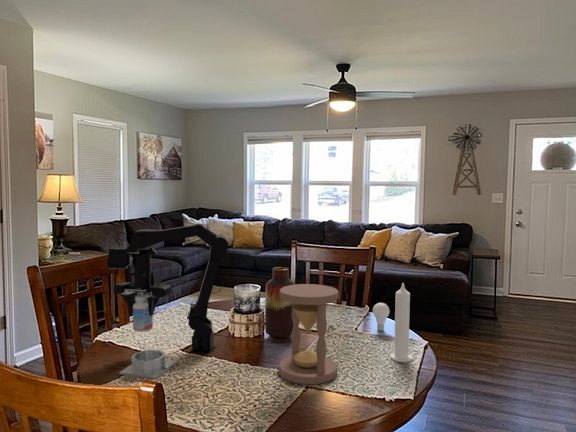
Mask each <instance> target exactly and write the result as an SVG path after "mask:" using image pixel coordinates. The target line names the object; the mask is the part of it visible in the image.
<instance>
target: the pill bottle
mask: <svg viewBox="0 0 576 432" xmlns="http://www.w3.org/2000/svg"><path fill="white" fill-rule="evenodd" d="M149 296H151V294H137V296H135V301H136V303H135V304H134V305H133V314H132V324H133V325H132V330H133V331H134V332H136V333H139V332H140V333H142V332H143V333H146V332H149V331H151V330H153V316H150V314H149V308H148V299H147V297H149Z"/></svg>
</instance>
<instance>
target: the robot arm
mask: <svg viewBox="0 0 576 432" xmlns="http://www.w3.org/2000/svg"><path fill="white" fill-rule="evenodd" d="M194 237H198V238H199V239H200V240H201V241H203V243H205V244H207V245H208V246H209V255H208V257H209V258H208V262H207V266H206V269H205V272H204V277H203V280H202V283H201V286H200V289H199V292H198V293H199V294H198V297H197V299H196V301H195V303H193V302H190V309H189V311H188V313H187V317H186V320H188V326H189V328H190V329H191V330H193V332H192V336H191V348H192V349H191V350H190V352H191V353H197V354H210V353H211V352H212V351H214V349H216V347H217V346H216V345H214V343H215V334H214V333H215V332H214V330H213V322H212V320H210V319H209V318H208V317H207V315H208V308H209V307H208V306H209V302H210V299H211V298H210V297H211V295H212V291H213V288H214V284H215V281H216V278H217V275H218V271H219V268H220V264H221V262H222V261H223V260H224V257H225V255H226V253H227V252H228V250H229V242H228V240H227V237H225V236H223V235H222V234H221V235H219V234H218V235H217V234H216V233H214V232H213V231H212V230H210V229H208V228H207V227H205V226H204V224H202V223H196V224H195V223H194V224H192V225H184V226H179V227H172V228H166V229H165V228H164V229H144V228H143V229H139V230H137V231H135V232H134V233H133V234H132V236H131V238H130V239H131V240H130V243H129V245H127V246H126V248H124V247H123V248H121V247H119V248H116V247H110V248H109V249H108V255H107V261H106V265H107V269H108V270H127V269H128V268H129V266H131V265H132V271H131V272H130V274H129V275H130V277H131V276H132V282H130V281H129V282H127V281H122V282H118V283H117V284H114V285H113V287H112V293H113V294H115V295H116V294H117V295H120V297H122V299H123V300H124V301H125V304H127V307H128V308H129V311H130V312H131V313H132V315H133V305H134V304H135V303H136V301H135V296H137V295H138V293H147V294H150V296H149V297H147V299H148V308H149V314H150V316H152V317H154V313H155V309H156V307H157V304H158V302H159V300H160V298H164V297H167V296H170V295H171V294H172V293H173V291H172V287H171V285H169V284H162V283H161V282H162V278H163V276H161V275H158V274H155V271H154V270H153V269H152V255H153V256H154V255H155V256H156V255H157V253H158V251H157V250H156V249H155V248H153V246H155V245H158V244H159V243H162V242H163V243H164V242H169V241H174V240H175V241H176V240H179V239H180V240H181V239H187V238H194ZM148 247H150V248H148ZM146 248H147V249H146ZM136 250H139V251H137V252H135V251H136Z"/></svg>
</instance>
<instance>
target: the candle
mask: <svg viewBox="0 0 576 432" xmlns="http://www.w3.org/2000/svg"><path fill="white" fill-rule="evenodd" d="M394 302H395V303H394V305H395V306H394V307H395V308H394V309H395V311H394V340H393V341H394V345H393V346H394V348H393V353H390V354H389V358H390V359H391V360H392V361H394V362H398V363H409V362H412V361H413V356H412V355H411V354H409V346H410V345H409V342H410V341H409V340H410V339H409V338H410V312H411V311H410V310H411V309H410V307H411V306H410V305H411V303H410V302H411V293H410V292H409V291H408V290H407V289H406V287H405V283H404V282H402V283H401V287H400V289H398V290H397V291H396V292H395V300H394Z"/></svg>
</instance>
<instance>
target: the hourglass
mask: <svg viewBox="0 0 576 432" xmlns="http://www.w3.org/2000/svg"><path fill="white" fill-rule="evenodd" d="M339 292H340V291H339V290H338V289H337V288H335V287H334V286H330V285H329V286H328V285H324V284H315V283H299V284H298V283H297V284H296V283H295V285H289V286H285V287H283V288H281V289H280V299H282V300H284V301H286V302H290V303H293V307H292V320H293V324H294V326H293V330H292V333H291V339H292V340H291V344H292V349H291V350H292V351H291V353H292V354H291V356H287V357H285V358H283V359H281V361H280V362H279V364H278V373H279V375H280V376H281V378H283V379H284V380H286V381H288V382H290V383H295V384H299V385H309V386H310V385H320V384H324V383H327V382H330V381H332V380H334V379H335V378H336V377H337V374H338V366H337V365H338V364H337V363H336V362H335V361H334V360H332V359H331V358H328V357H327V343H326V340H325V335H326V331H327V329H328V324H327V317H326V315H327V314H326V313H327V304H331V303H334V302H336V301H337V300H338V299H339V296H340V295H339ZM300 323H301V325H302V326H303V328H304V329H305V331H304V333H305V335H310V334H312V328H313V327H314V325H315V324H316V327H315V328H316V331H317V336H318V339H317V342H316V346H315V351H312V350H304V351H301V350H300V346H301V340H302V337H301V336H302V333H301V330H300V327H299V325H300Z"/></svg>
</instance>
